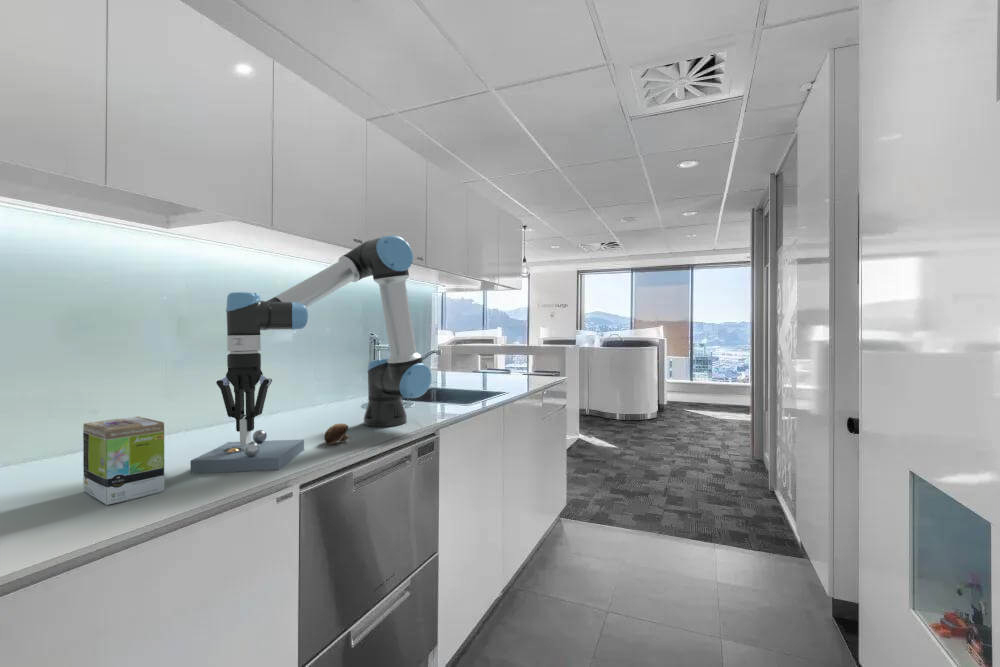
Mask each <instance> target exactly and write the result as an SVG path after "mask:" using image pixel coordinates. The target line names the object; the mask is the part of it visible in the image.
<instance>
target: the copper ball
mask: <svg viewBox="0 0 1000 667" xmlns="http://www.w3.org/2000/svg"><path fill="white" fill-rule="evenodd" d="M234 451H239V449H237V448H232V449H230V450H228V451H227V452H234Z"/></svg>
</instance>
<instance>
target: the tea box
mask: <svg viewBox="0 0 1000 667" xmlns="http://www.w3.org/2000/svg"><path fill="white" fill-rule="evenodd" d="M82 428H83V429H82V430H83V433H82V434H83V435H82V437H83V438H82V440H83V442H82V444H83V449H82V450H83V453H82V454H83V455H82V456H83V458H82V459H83V463H82V465H83V478H82V479H83V480H82V481H83V483H82V484H83V491H84V492H85V493H87V494H89V495H90V496H91V497H93V498H95V499H97V500H99V502H101V503H103V504H104V505H107V506H108V505H113V504H118V503H122V502H127V501H131V500H135V499H138V498H142V497H147V496H151V495H154V494H158V493H161V492H164V490H165V477H166V476H165V422H163V421H160V420H155V419H151V418H146V417H142V416H132V417H131V416H130V417H124V418H123V417H122V418H115V419H114V418H113V419H107V420H99V421H91V422H84V423H83V426H82Z"/></svg>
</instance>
